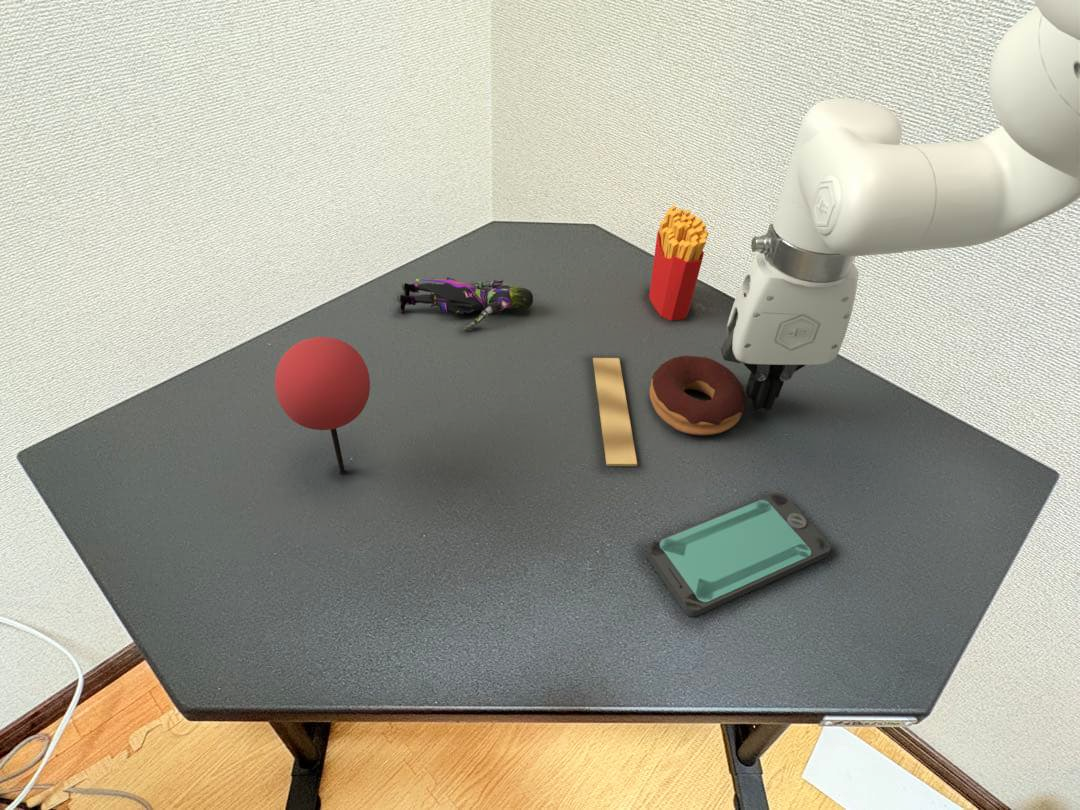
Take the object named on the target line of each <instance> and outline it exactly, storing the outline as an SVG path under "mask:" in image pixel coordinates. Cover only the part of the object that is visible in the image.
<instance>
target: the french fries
mask: <svg viewBox="0 0 1080 810" xmlns="http://www.w3.org/2000/svg"><path fill="white" fill-rule="evenodd" d="M684 210H685V209H684V208H683V207H681V208H678V209H677V206H676V205H675V204H673V205H671V206H670V207H669V208H668V211H667V212H666V214H665V215H664V217H663V220H662V221H660V222H659V228H658V230H657V233H656V239H655V240H656V241H655V247H654V255H653V262H652V263H653V264H652V272H651V277H650V278H651V280H650V285H649V293H648V298H649V300H650V302H651V304H652V305H653V308H654V309H655V310H656V312H657V314H659V315H658V316H660V317H662V318H664V319H666V320H668V321H671V322H672V321H679V320H685V319H686V318H687V316H688V314H689V312H690V307H691V304H692V301H693V296H694V293H695V290H696V286H697V282H698V278H699V274H700V270H701V266H702V263H703V259H704V256H705V252H704V251H703V250H704V248H705V246H706V243H707V238H708V237H709V231H708V230H707V229H706V228H707V223H706V222H703V218H702V217H700V218H699V217H697V215H696V213H693V214H691V211H690V209H687V210H685V211H684Z"/></svg>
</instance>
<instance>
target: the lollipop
mask: <svg viewBox="0 0 1080 810" xmlns="http://www.w3.org/2000/svg"><path fill="white" fill-rule="evenodd" d="M370 378H371V377H370V373H369V368H368V366H367V364H366V362H365V360H364V358H363V357H362V355H361V354H360V353H359V352H358V350H357V349H356V348H355V347H353V346H352V345H351V344H349V343H347V342H346V341H344V340H341V339H338V338H335V337H328V336H316V337H310V338H307V339H304V340H301V341H298V342H297V343H295V344H294V345H293V346H291V347H289V349H287V350H286V352H285V353H284V354H283V355H282V357H281V358H280V360H279V362H278V364H277V367H276V371H275V374H274V388H275V389H274V391H275V394H276V399H277V401H278V404H279V406H280V407H281V409H282V410H283V412H284V413H285V415H286V416H288V418H290V419H291V420H292V421H293V422H294V423H296V424H297V425H299V426H301V427H304V428H306V429H311V430H316V431H330V433H331V434H330V435H331V438H332V443H333V449H334V453H335V457H336V461H337V465H338V469H339V471H338V474H339V475H341V476H343V475H345V474H346V473H347V470H346V468H345V464H344V460H343V459H344V458H343V455H342V450H341V445H340V440H339V435H338V431H337V430H338V429H339V428H342V427H344V426H346V425H348V424H350V423H351V422H353V421H355V420H356V419H357V418H358V417H359V416H360V415H361V413H362V412H363V411H364V408H365V407H366V405H367V403H368V401H369V398H370V397H369V396H370V392H371V379H370Z"/></svg>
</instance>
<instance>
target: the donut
mask: <svg viewBox="0 0 1080 810" xmlns="http://www.w3.org/2000/svg"><path fill="white" fill-rule="evenodd" d="M687 390H694V391H698V392H701V393H703V394H704V395H706V396H708V397H709V398H710V399H706V400H701V399H700V398H695V397H693V396H691V395H690V394H687V393H686V392H685V391H687ZM649 398H650V402H651V404H652V406H653V408H654V411H655V413H656V414H657V415H658V416H659V417H660V418H661V419H662V420H663V421H664V422H665V423H666V424H667V425H669V426H670V427H671V428H673V429H674V430H676V431H677V432H681V433H684V434H685V435H686V434H687V435H693V436H713V435H718V434H721V433H723V432H726V431H728V430H730V429H732V428H733V427H734V426H735V425H736V424H737V423H738V422H739V421H740V419H741V417H742V414H743V412H744V410H745V407H746V403H747V397H746V392H745V390H744V386H743V385H742V383H741V381H740V380H739V378H738V377H737V375H735V374H734V372H733V371H731V370H730V369H729V368H728V367H726V366H725V365H723V364H722V363H720V362H719V361H716V360H715V359H712V358H710V357H706V356H697V355H679V356H676V357H672V358H670V359H668V360H667V361H664V363H661V364H660V366H658V368H657V369H656V370H655V371H654V372H653V374H652V377H651V381H650V387H649Z"/></svg>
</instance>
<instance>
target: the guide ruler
mask: <svg viewBox="0 0 1080 810" xmlns="http://www.w3.org/2000/svg"><path fill="white" fill-rule="evenodd" d="M592 367H593V373H594V381H595V382H594V383H595V390H596V397H597V404H598V413H599V419H600V427H601V435H602V437H601V438H602V443H603V451H604V458H605V466H606V467H638V460H637V454H636V448H635V442H634V436H633V431H632V425H631V419H630V413H629V407H628V401H627V395H626V390H625V389H626V388H625V383H624V378H623V371H622V366H621V360H620V358H619V357H592Z"/></svg>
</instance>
